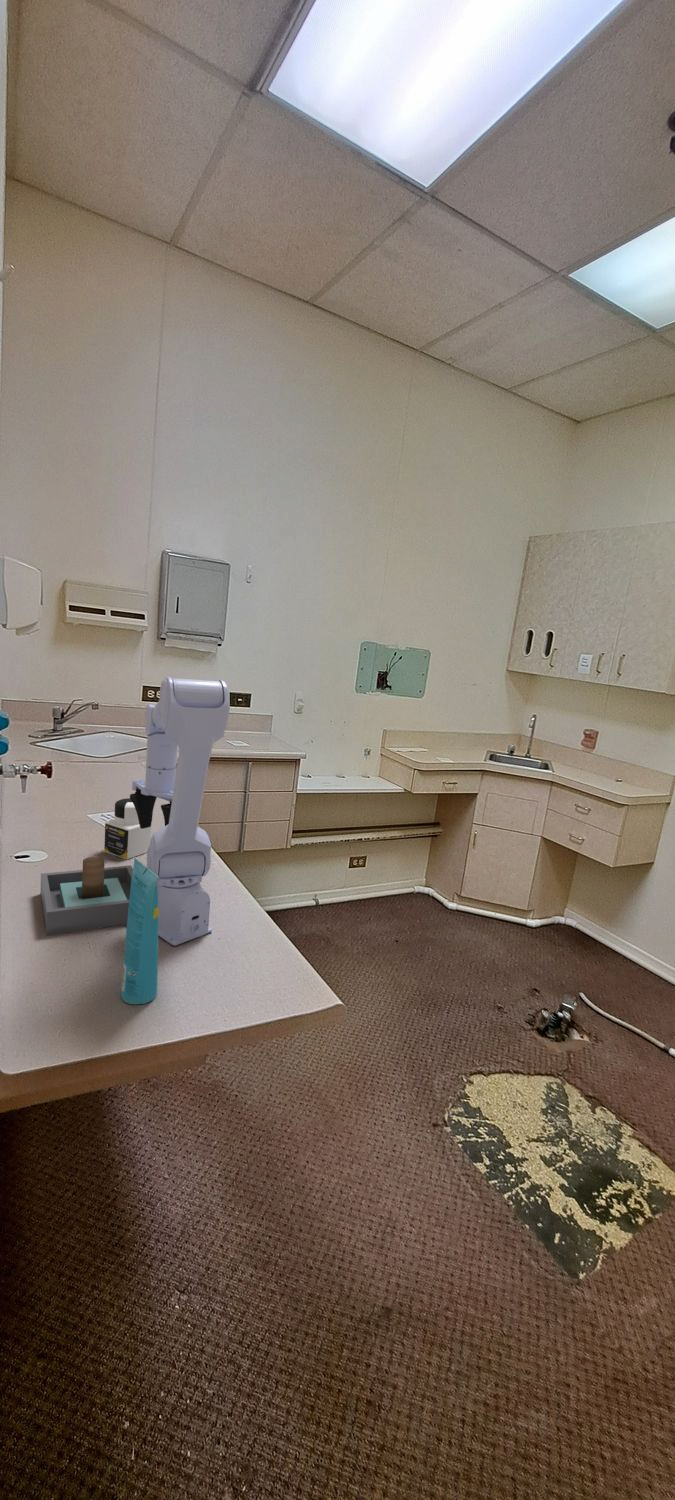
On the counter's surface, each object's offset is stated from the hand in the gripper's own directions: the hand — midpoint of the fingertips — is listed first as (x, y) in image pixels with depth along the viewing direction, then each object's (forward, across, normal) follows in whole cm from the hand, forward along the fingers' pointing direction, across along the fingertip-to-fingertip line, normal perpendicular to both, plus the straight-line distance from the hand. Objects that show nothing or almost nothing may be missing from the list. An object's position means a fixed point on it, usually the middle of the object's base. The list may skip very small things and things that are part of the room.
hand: (157, 832), depth 120 cm
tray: (+10, +1, -15) cm, 18 cm away
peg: (+9, +2, -15) cm, 18 cm away
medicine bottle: (+11, -16, +6) cm, 20 cm away
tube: (+11, +28, -26) cm, 40 cm away
